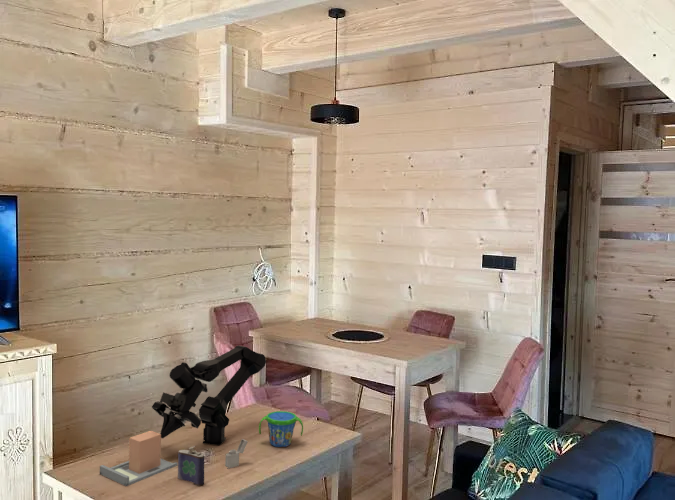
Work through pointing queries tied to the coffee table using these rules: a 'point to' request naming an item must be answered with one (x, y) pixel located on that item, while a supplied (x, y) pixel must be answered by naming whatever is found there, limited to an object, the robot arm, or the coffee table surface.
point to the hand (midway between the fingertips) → (161, 437)
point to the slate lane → (132, 472)
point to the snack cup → (281, 427)
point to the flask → (191, 466)
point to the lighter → (235, 455)
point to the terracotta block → (144, 451)
